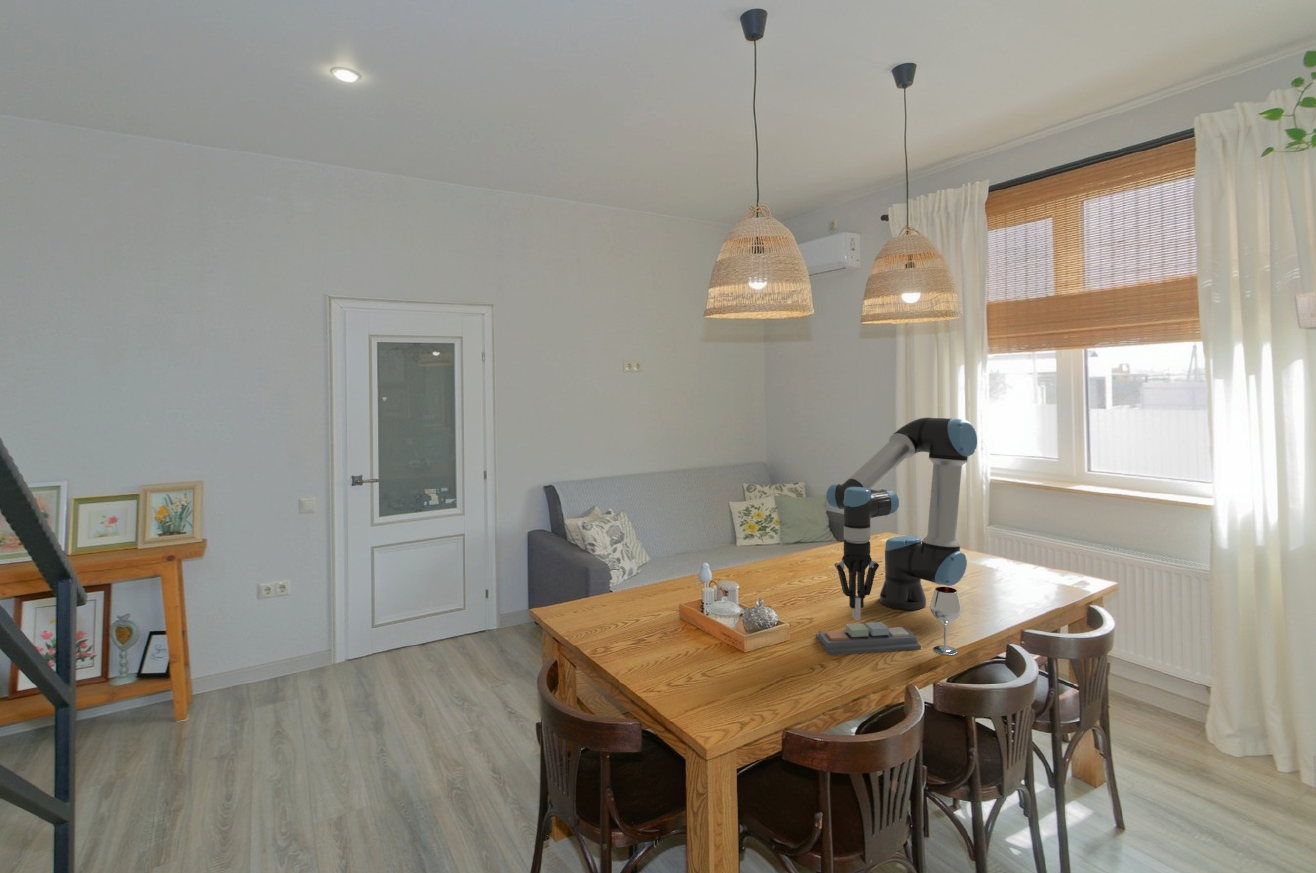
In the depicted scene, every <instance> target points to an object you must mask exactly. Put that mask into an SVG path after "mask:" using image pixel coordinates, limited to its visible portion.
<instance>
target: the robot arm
mask: <svg viewBox="0 0 1316 873" xmlns="http://www.w3.org/2000/svg"><path fill="white" fill-rule="evenodd" d="M977 446H978V436H977V431H976V429H975V428H974V426H973V424H972V423H971V422H970V421H968V420H965V419H960V418H956V417H955V418H947V417H946V418H944V417H942V418H940V417H922V418H918V419H915V420H912V421H910V422H908V423H906V424H905V425H903V426H901V427H900V428H898V429H897V430H896V431H895V432H894V433H893V434H892V435H890V437H889V439H888V442H887V443H886V444H885V445H884V446H883V447H882V448H881V449H879V450H878V451H877V452H876V453H874V455H872V457H870V459H868V460H867V461H866V462H865V463H864V464H863V465H862V466H861V467H860V468H859V469H857V470H856V471H855V472H854V473H853V474H852V475H851V476H850V477H849V478H848V479H847V480H845V482H843V483H842V484H840V483H835V484H831V485H830V486H829V487H828V489H827V491H826V494H825V496H826V497H825V498H826V501H827V503H828V505H829V506H831V507H832V508H836V509H839V510H843V539H844V540H843V556H842V558H841V561H840V562H838V563H837V562H835V563H834V567H835V568H836V570H837V572H838V577H839V581H840V586H841V590H842V593H843V595H845V596H846V597H849V600H848V601H849V602H848V605H849V607H850V608H851V610H852V611H851V612H852V613H851V616H852V618H853V620H855V621H861V620H862V619H861V618H862V617H861V608H864V601H865V600H864V599H865V598H866V597H867V596H870V595H871V592H872V587H873V584H874V580H875V579H874V578H875V576H876V571H877V570H878V569H879V567H880V563H878V562H876V561H873V560H872V559H873V558H872V557H871V542H870V540H871V519H873V518H877V517H883V516H888V515H891V514H894V513H895V512H897V510H898V508H899V506H900V499H899V496H898V495H897V494H896V493H895V492H894V490H891V489H881V490H876V489H875V488H876V487H877V486H878V485H879V484H880V483H881V482H882V481H883V480H884V479H886V477H888V475H889V474H891V472H893V470H895V469H896V468H897V467H898V466H899V465H900V464H901V463H902V462H904V460H906V459H908V458H909V459H910V458H912V457H913V456H914V455H916V454H918V453H928V459H929V460H930V462H932V465H933V466H932V475H931V476H932V477H931V489H930V498H929V500H930V501H929V511H928V512H929V513H928V524H927V525H928V526H927V535H926V536H925V537H923V538H921V537H919V536H917V535H916V536H914V535H900V536H894V537H889V538H887V540H886V541H885V545H884V546H885V547H884V571H885V572H884V581H883V585H882V588H881V590H880V592H879V602H880V604H882V605H883V606H886V607H887V608H891V609H896V610H902V611H914V610H922V609H923V608H924V607H926V606H927V597H926V594H925V591H924V589H923V585H922V580H923V581H927V582H932V583H935V584H936V585H938V586H941V585H942V586H945V587H951V586H955V585H957V584H958V583H959V582H960V581H961V580H962V578H963V577H964V575H965V573H966V570H967V567H968V566H967V565H968V560H967V557H966V554H965V553H964V552H962V551H961V544H960V543H959V541H958V540H957V539H956V538H957V528H958V526H957V525H958V514H959V506H960V505H959V502H960V490H961V482H962V481H961V479H962V478H961V477H962V469H963V468H962V467H963V466H964V465H965V464H966V463H968V459H969V458H968V457H970V456H972V455H974V454H975V452H976V451H975V450H976V449H977ZM845 567H846V569H847V570H848V571H847V572H848V580H847V576H846V572H845ZM867 568H868V569H867ZM866 569H867V574H866ZM865 575H866V577H865Z"/></svg>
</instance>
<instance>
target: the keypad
mask: <svg viewBox="0 0 1316 873" xmlns="http://www.w3.org/2000/svg"><path fill="white" fill-rule="evenodd" d="M901 627H902V628H903V629H904V630H906V631H907V632H908V633H909V636H904V637H891V636H890V635H877V636H872V635H871V634H870V633H869V632H868V636H862V637H851V636H850V635H849V634H848V632H847V631H846V630H841V631H842V632H843V633H844V634H845V635H846V636H847V637H848V640H842V641H830V640H829V639H828V637H827V636H826V632H827V631H823V632H818V633H816V634H815V639H817V641H818V642H819V643H820V644H821V645H822V647H824V648H823V649H825V650H826V651H827V653H828V654H829V655H830V656H836V655H852V654H866V653H883V652H896V651H897V652H899V651H909V650H910V651H912V650H913V651H914V650H921V649H922V645H921V644H919V643H918V637H917V636H916V635H915V634H914V633H912V632H911V631H910V630H909V629H908V628H907V627H905V626H901Z"/></svg>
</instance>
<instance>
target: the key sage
mask: <svg viewBox="0 0 1316 873" xmlns="http://www.w3.org/2000/svg"><path fill="white" fill-rule="evenodd" d="M845 631H847V632H848V634H849V635H850V636H851V637H862V636H868V629H867V628H866V625H864V623H863V622H861V623H845Z"/></svg>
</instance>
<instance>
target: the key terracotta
mask: <svg viewBox="0 0 1316 873" xmlns="http://www.w3.org/2000/svg"><path fill="white" fill-rule="evenodd" d="M842 631H843V630H837V631H836V630H835V631H825V632H826V636H827V637H828V639H829V640H830V641H842V640H848V637H847V636H846V635H845V634H844V633H843V632H842Z"/></svg>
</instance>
